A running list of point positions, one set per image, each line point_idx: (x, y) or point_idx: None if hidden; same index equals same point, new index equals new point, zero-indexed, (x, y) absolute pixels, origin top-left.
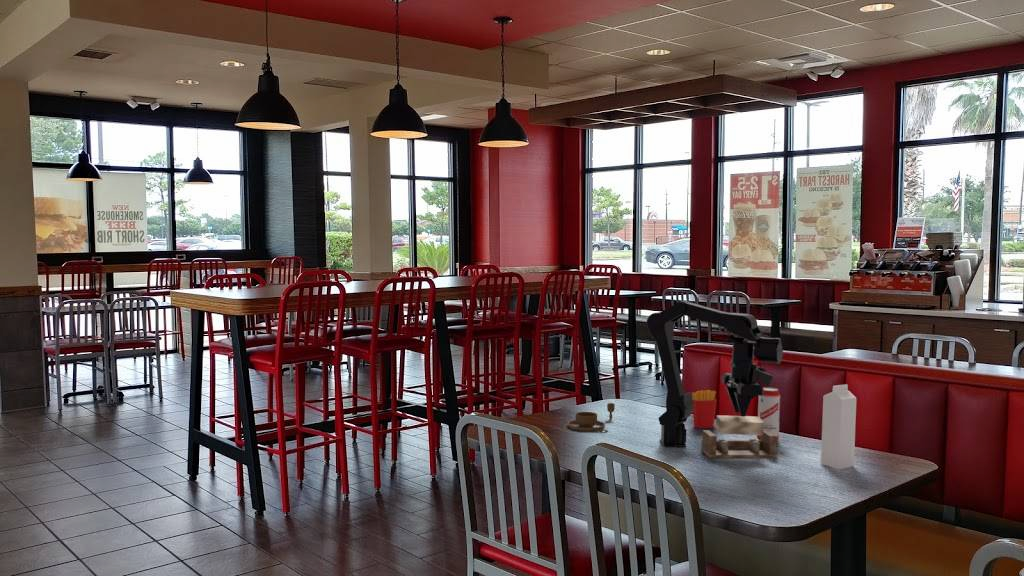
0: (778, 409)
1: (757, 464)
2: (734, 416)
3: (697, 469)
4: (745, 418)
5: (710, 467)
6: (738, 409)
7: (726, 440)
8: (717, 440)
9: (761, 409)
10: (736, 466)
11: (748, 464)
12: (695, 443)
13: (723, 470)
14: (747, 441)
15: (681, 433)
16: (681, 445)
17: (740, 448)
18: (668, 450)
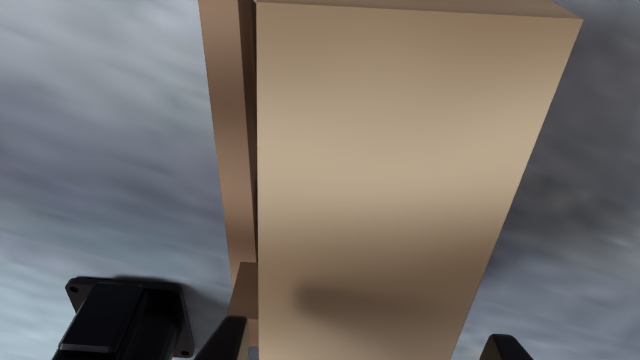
0: None
1: (610, 50)
2: (279, 316)
3: (565, 344)
4: (356, 230)
5: (558, 297)
6: (240, 358)
7: (232, 164)
8: (236, 216)
9: None
10: (594, 190)
11: (585, 110)
12: (92, 225)
13: (630, 267)
14: (237, 1)
15: (140, 351)
16: (183, 305)
17: (252, 41)
18: (252, 350)
